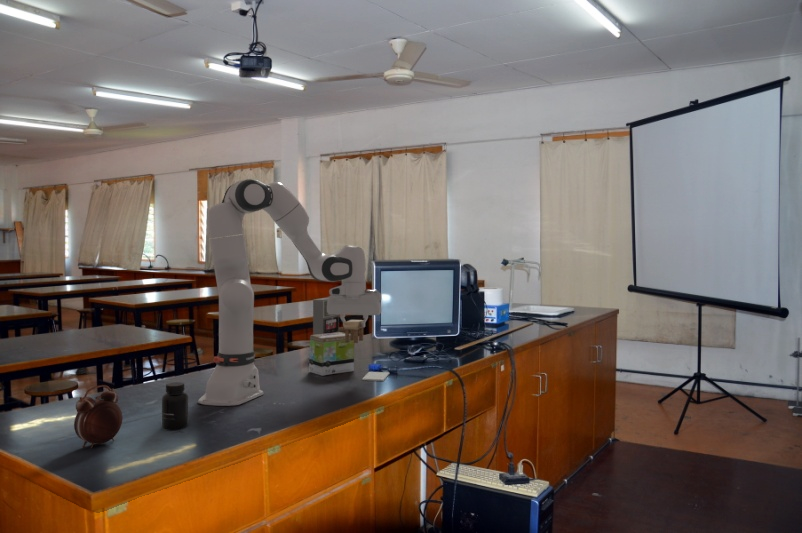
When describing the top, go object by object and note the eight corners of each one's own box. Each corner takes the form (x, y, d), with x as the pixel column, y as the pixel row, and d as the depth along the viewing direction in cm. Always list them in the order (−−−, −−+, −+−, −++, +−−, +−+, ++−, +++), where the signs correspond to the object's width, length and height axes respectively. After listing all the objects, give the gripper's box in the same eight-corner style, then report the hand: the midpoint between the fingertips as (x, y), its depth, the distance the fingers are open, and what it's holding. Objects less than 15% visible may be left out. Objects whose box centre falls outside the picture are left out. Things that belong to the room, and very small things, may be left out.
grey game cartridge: (324, 356, 270) (324, 300, 269) (312, 355, 272) (312, 299, 271) (340, 351, 282) (340, 297, 281) (329, 350, 285) (329, 297, 284)
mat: (383, 381, 223) (383, 379, 223) (362, 380, 224) (362, 378, 224) (389, 374, 235) (389, 372, 235) (369, 373, 236) (369, 371, 236)
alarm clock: (112, 437, 159) (111, 380, 158) (124, 440, 156) (123, 382, 156) (72, 449, 149) (71, 389, 149) (84, 453, 147) (83, 391, 146)
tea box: (323, 376, 230) (323, 337, 229) (308, 372, 238) (308, 334, 237) (355, 371, 240) (355, 334, 239) (340, 367, 248) (340, 331, 247)
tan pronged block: (357, 343, 221) (357, 322, 221) (344, 342, 222) (344, 322, 222) (363, 340, 228) (363, 320, 227) (351, 339, 229) (351, 319, 229)
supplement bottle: (162, 432, 163) (161, 387, 163) (161, 424, 169) (160, 382, 169) (189, 429, 166) (188, 385, 165) (187, 422, 172) (187, 380, 172)
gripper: (383, 289, 225) (383, 326, 226) (330, 288, 229) (330, 324, 230) (379, 290, 219) (379, 328, 220) (325, 290, 223) (325, 327, 224)
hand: (354, 326), depth 225 cm, fingers closed on tan pronged block, 5 cm apart
